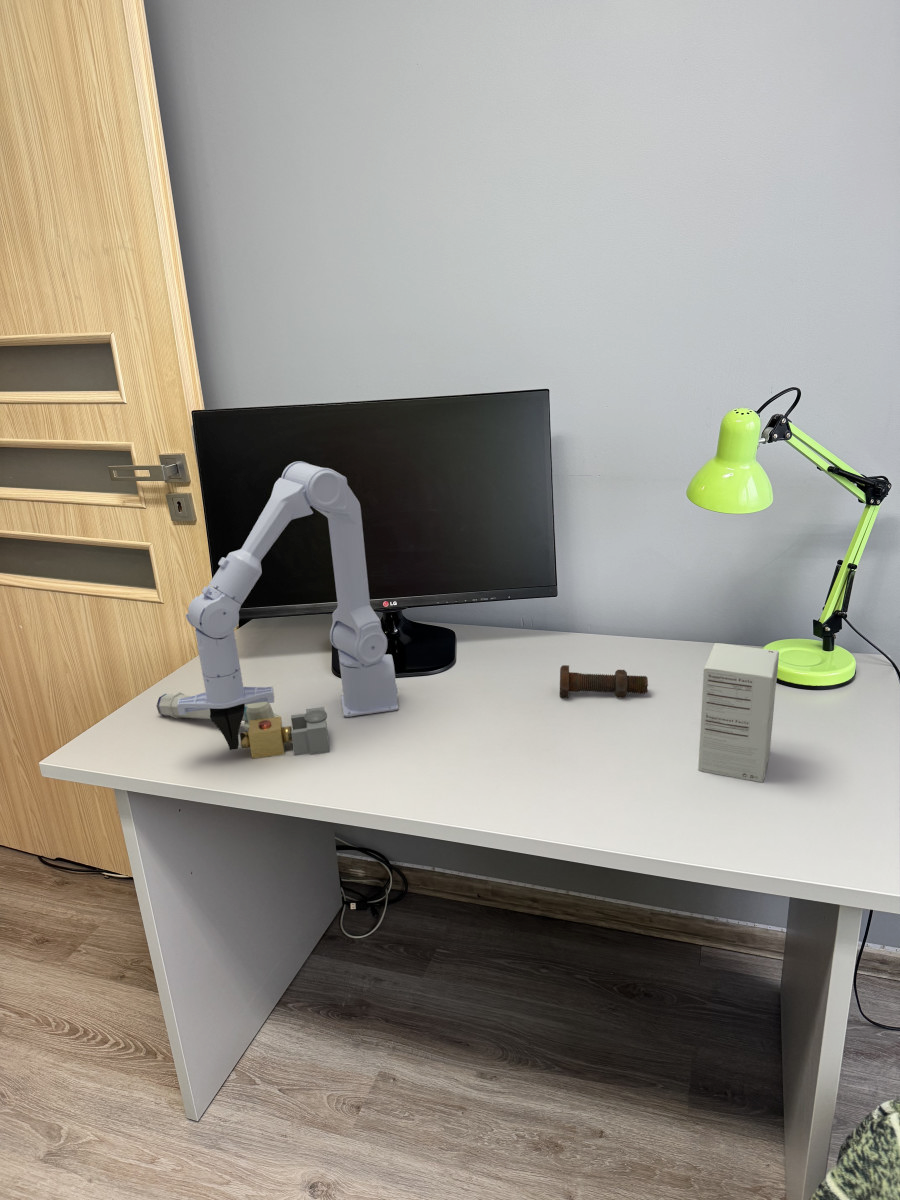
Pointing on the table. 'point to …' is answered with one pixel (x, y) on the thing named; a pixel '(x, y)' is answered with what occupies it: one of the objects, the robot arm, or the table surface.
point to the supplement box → (737, 711)
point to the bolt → (601, 683)
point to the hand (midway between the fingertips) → (234, 746)
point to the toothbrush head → (170, 708)
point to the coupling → (310, 732)
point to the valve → (266, 737)
